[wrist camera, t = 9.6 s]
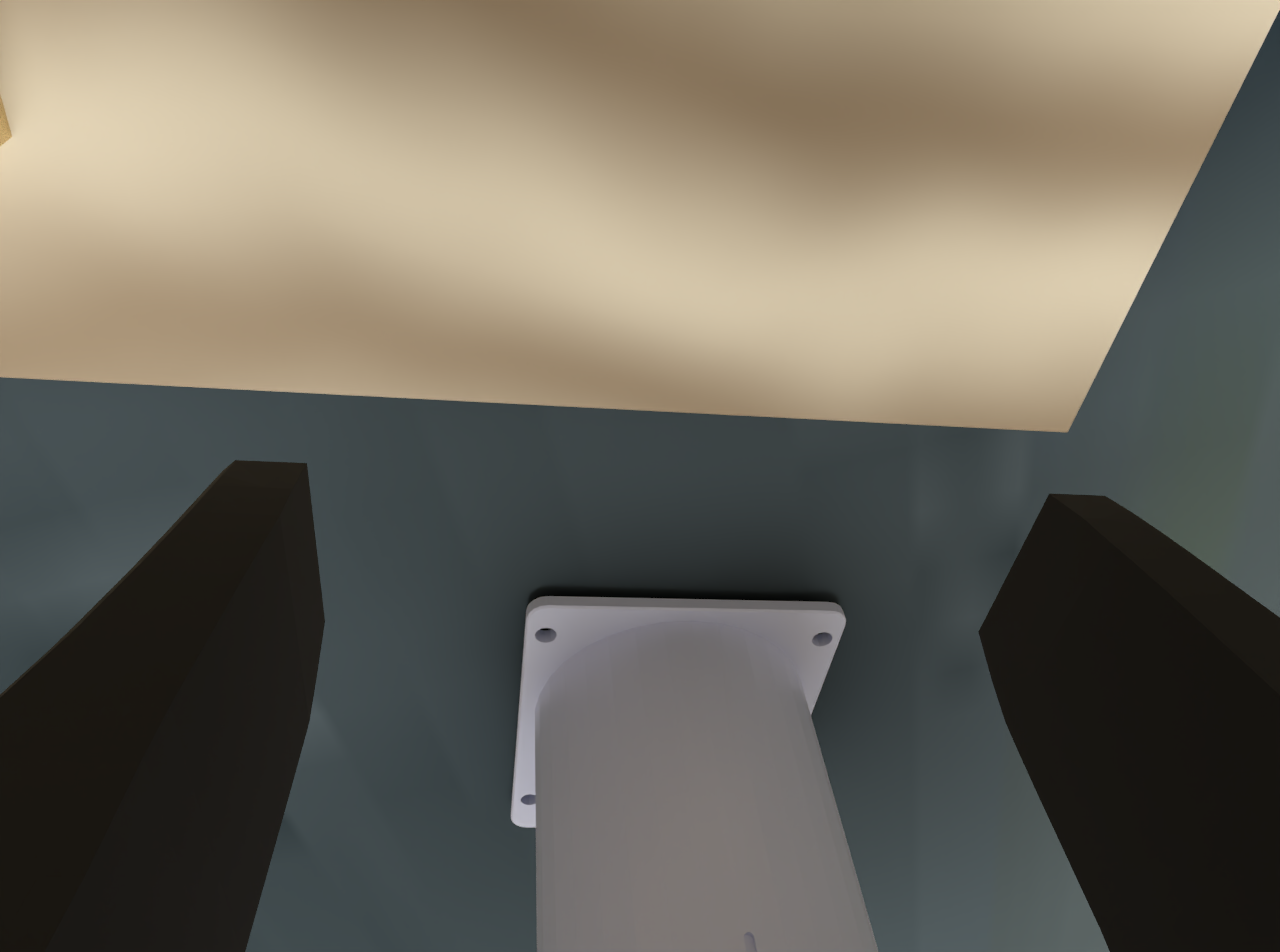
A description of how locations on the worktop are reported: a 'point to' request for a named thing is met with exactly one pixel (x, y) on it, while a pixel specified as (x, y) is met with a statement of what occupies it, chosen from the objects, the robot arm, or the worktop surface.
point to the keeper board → (604, 197)
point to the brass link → (4, 125)
